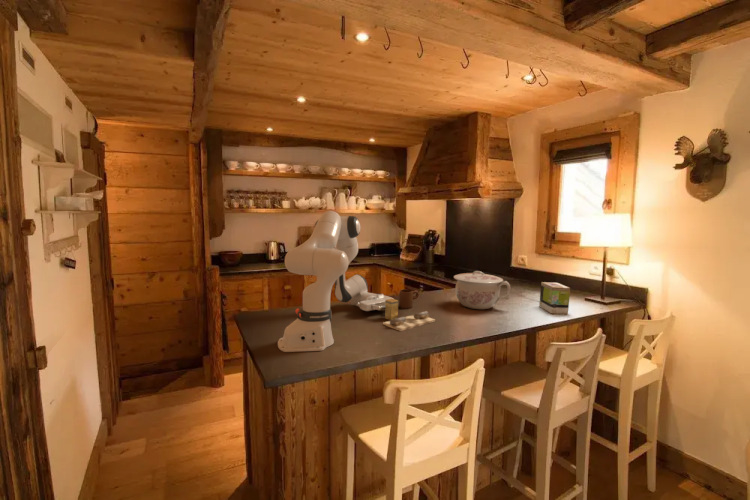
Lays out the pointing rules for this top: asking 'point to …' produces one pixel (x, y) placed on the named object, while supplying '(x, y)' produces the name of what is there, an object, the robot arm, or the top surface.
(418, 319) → the beige bumpy flat tray
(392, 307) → the pale yellow tall box
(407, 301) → the mug
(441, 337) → the top surface
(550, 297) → the tea box
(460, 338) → the top surface
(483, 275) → the chamber pot
